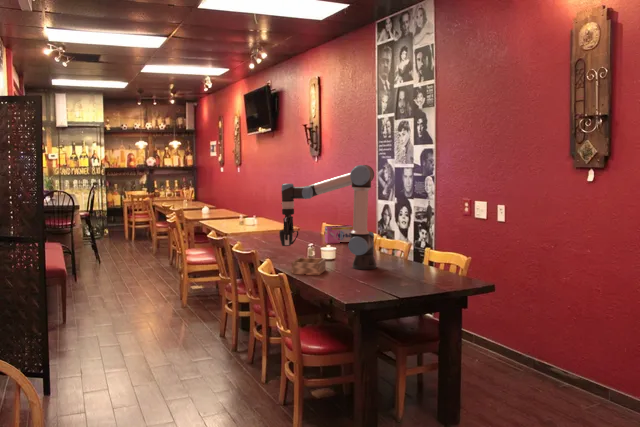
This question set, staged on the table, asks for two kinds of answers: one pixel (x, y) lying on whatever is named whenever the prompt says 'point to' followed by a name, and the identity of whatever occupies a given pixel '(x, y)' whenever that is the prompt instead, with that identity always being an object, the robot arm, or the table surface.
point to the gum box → (337, 233)
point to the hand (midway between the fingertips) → (288, 244)
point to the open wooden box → (308, 266)
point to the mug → (282, 237)
